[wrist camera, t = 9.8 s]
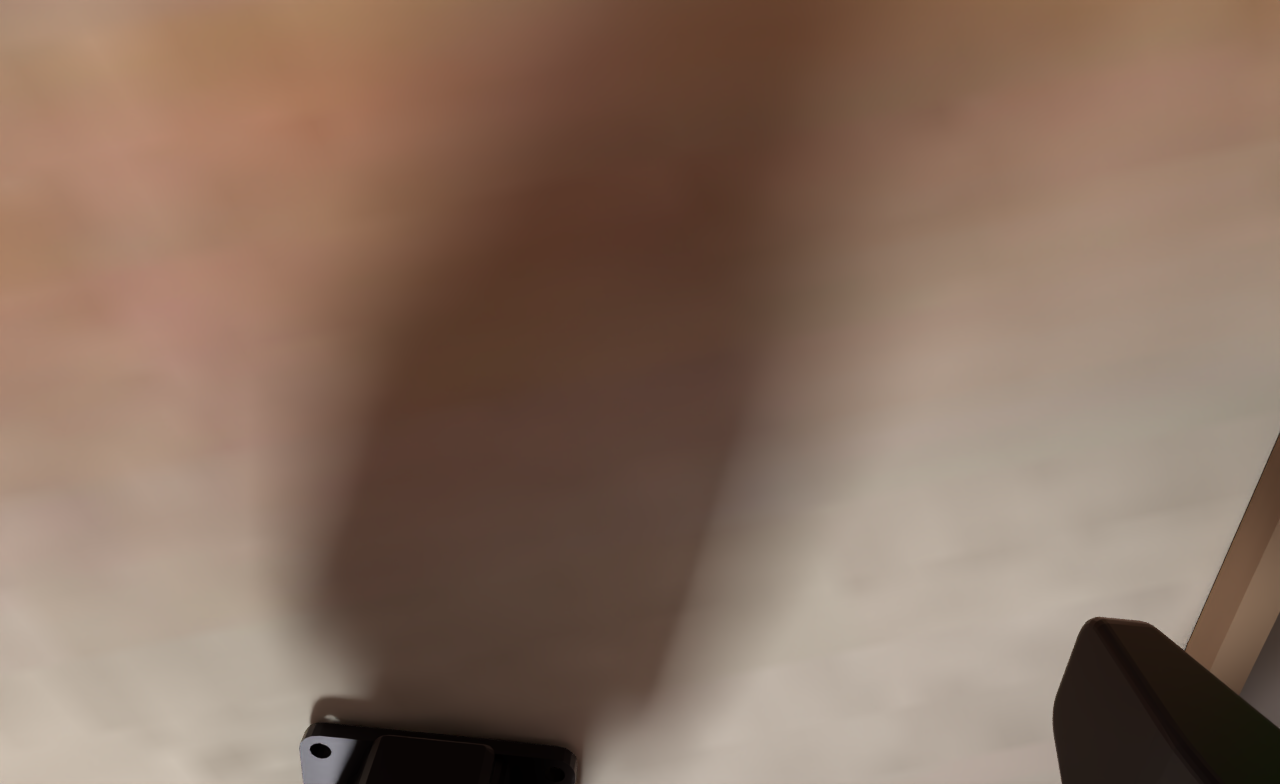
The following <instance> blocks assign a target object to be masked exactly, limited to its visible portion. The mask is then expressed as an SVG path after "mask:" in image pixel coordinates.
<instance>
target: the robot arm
mask: <svg viewBox="0 0 1280 784" xmlns="http://www.w3.org/2000/svg"><path fill="white" fill-rule="evenodd" d="M1053 733H1054V740H1055V746H1056V751H1057V757H1058V763H1059V769H1060V775H1061V781H1062V784H1280V728H1278V727H1277V726H1276V725H1275V724H1274V723H1272V722H1271V721H1270V720H1269V719H1267V718H1266V717H1265V716H1264V715H1262V714H1261V713H1260V712H1259V711H1258V710H1256V709H1255V708H1254V707H1253V706H1251V705H1250V704H1249V703H1248V702H1247V701H1245V700H1244V699H1243V698H1242V697H1240V696H1239V695H1238V694H1237V693H1236V692H1234V691H1233V690H1232V689H1231V688H1229V687H1228V686H1227V685H1226V684H1224V683H1223V682H1222V681H1221V680H1220V679H1218V678H1217V677H1216V676H1215V675H1213V674H1212V673H1211V672H1210V671H1209V670H1207V669H1206V668H1205V667H1204V666H1202V665H1201V664H1200V663H1199V662H1198V661H1196V660H1195V659H1194V658H1193V657H1191V656H1190V655H1189V654H1188V653H1186V652H1185V651H1184V650H1183V649H1182V648H1180V647H1179V646H1178V645H1177V644H1175V643H1174V642H1173V641H1172V640H1171V639H1169V638H1168V637H1167V636H1166V635H1164V634H1163V633H1162V632H1161V631H1160V630H1158V629H1157V628H1155V627H1154V626H1153V625H1151V624H1149V623H1146V622H1143V621H1137V620H1126V619H1116V618H1106V617H1095V618H1092V619H1090V620H1088V621H1087V622H1086V623H1085V624H1084V625H1083V627H1082V628H1081V630H1080V632H1079V634H1078V637H1077V640H1076V643H1075V645H1074V648H1073V651H1072V653H1071V656H1070V659H1069V662H1068V664H1067V667H1066V670H1065V672H1064V675H1063V678H1062V681H1061V683H1060V686H1059V689H1058V692H1057V694H1056V698H1055V701H1054V707H1053ZM323 744H324V745H323ZM299 749H300V758H301V766H302V775H303V783H304V784H576V777H577V759H576V756H575V755H574V754H573V753H572V752H571V751H569V750H568V749H566V748H563V747H558V746H550V745H540V744H530V743H520V742H511V741H501V740H491V739H481V738H471V737H461V736H451V735H441V734H431V733H421V732H411V731H401V730H391V729H381V728H371V727H361V726H351V725H341V724H331V723H316V724H313V725H311V726H309V727H308V728H307V730H306V731H305V734H304V736H303V738H302V741H301V743H300V748H299ZM552 767H557V768H552Z"/></svg>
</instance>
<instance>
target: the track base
mask: <svg viewBox="0 0 1280 784" xmlns="http://www.w3.org/2000/svg"><path fill="white" fill-rule="evenodd" d="M1185 652H1186V653H1188V654H1189V655H1190V656H1191V657H1193V658H1194V659H1195V660H1196V661H1198V662H1199V663H1200V664H1201V665H1202V666H1204V667H1205V668H1206V669H1207V670H1209V671H1210V672H1211V673H1212V674H1213V675H1215V676H1216V677H1217V678H1218V679H1220V680H1221V681H1222V682H1223V683H1224V684H1226V685H1227V686H1228V687H1229V688H1231V689H1232V690H1233V691H1234V692H1236V693H1237V694H1238V695H1239V696H1240V697H1242V698H1243V699H1244V700H1245V701H1247V702H1248V703H1249V704H1250V705H1251V706H1253V707H1254V708H1255V709H1256V710H1258V711H1259V712H1260V713H1261V714H1262V715H1264V716H1265V717H1266V718H1267V719H1269V720H1270V721H1271V722H1272V723H1274V724H1275V725H1276V726H1277V727H1278V728H1280V435H1279V438H1278V440H1277V442H1276V444H1275V447H1274V449H1273V451H1272V454H1271V456H1270V458H1269V460H1268V463H1267V465H1266V467H1265V470H1264V472H1263V474H1262V476H1261V479H1260V481H1259V483H1258V485H1257V488H1256V490H1255V492H1254V495H1253V497H1252V499H1251V501H1250V504H1249V506H1248V508H1247V511H1246V513H1245V515H1244V517H1243V520H1242V522H1241V524H1240V527H1239V529H1238V531H1237V533H1236V536H1235V538H1234V540H1233V542H1232V545H1231V547H1230V549H1229V552H1228V554H1227V556H1226V558H1225V561H1224V563H1223V565H1222V568H1221V570H1220V572H1219V574H1218V577H1217V579H1216V581H1215V584H1214V586H1213V588H1212V590H1211V593H1210V595H1209V597H1208V599H1207V602H1206V604H1205V606H1204V609H1203V611H1202V613H1201V615H1200V618H1199V620H1198V622H1197V625H1196V627H1195V629H1194V631H1193V634H1192V636H1191V638H1190V641H1189V643H1188V645H1187V647H1186V650H1185Z"/></svg>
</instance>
